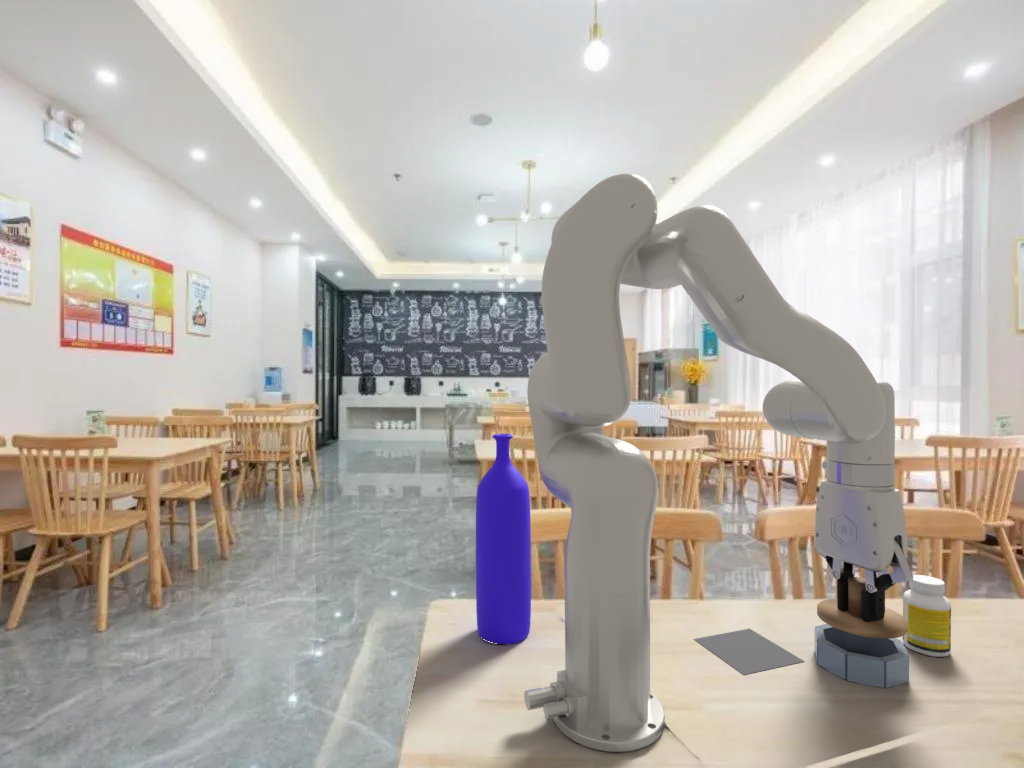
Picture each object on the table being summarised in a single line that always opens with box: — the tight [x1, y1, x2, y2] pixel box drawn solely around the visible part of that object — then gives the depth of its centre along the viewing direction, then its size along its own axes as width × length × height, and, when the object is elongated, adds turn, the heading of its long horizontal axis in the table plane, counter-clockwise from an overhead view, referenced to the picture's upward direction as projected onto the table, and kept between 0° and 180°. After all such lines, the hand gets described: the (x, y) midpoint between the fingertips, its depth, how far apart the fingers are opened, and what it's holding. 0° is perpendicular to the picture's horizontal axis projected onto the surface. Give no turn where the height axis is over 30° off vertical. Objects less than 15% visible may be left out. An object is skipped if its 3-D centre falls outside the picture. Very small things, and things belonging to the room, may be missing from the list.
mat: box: [693, 628, 805, 676], centre depth 75 cm, size 10×10×1 cm
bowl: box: [814, 623, 910, 689], centre depth 71 cm, size 10×10×4 cm
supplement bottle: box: [902, 574, 952, 658], centre depth 77 cm, size 5×5×10 cm
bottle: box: [475, 433, 532, 645], centre depth 82 cm, size 8×8×30 cm
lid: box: [816, 576, 908, 639], centre depth 71 cm, size 10×10×5 cm
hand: (860, 613), depth 71 cm, fingers closed on lid, 2 cm apart
